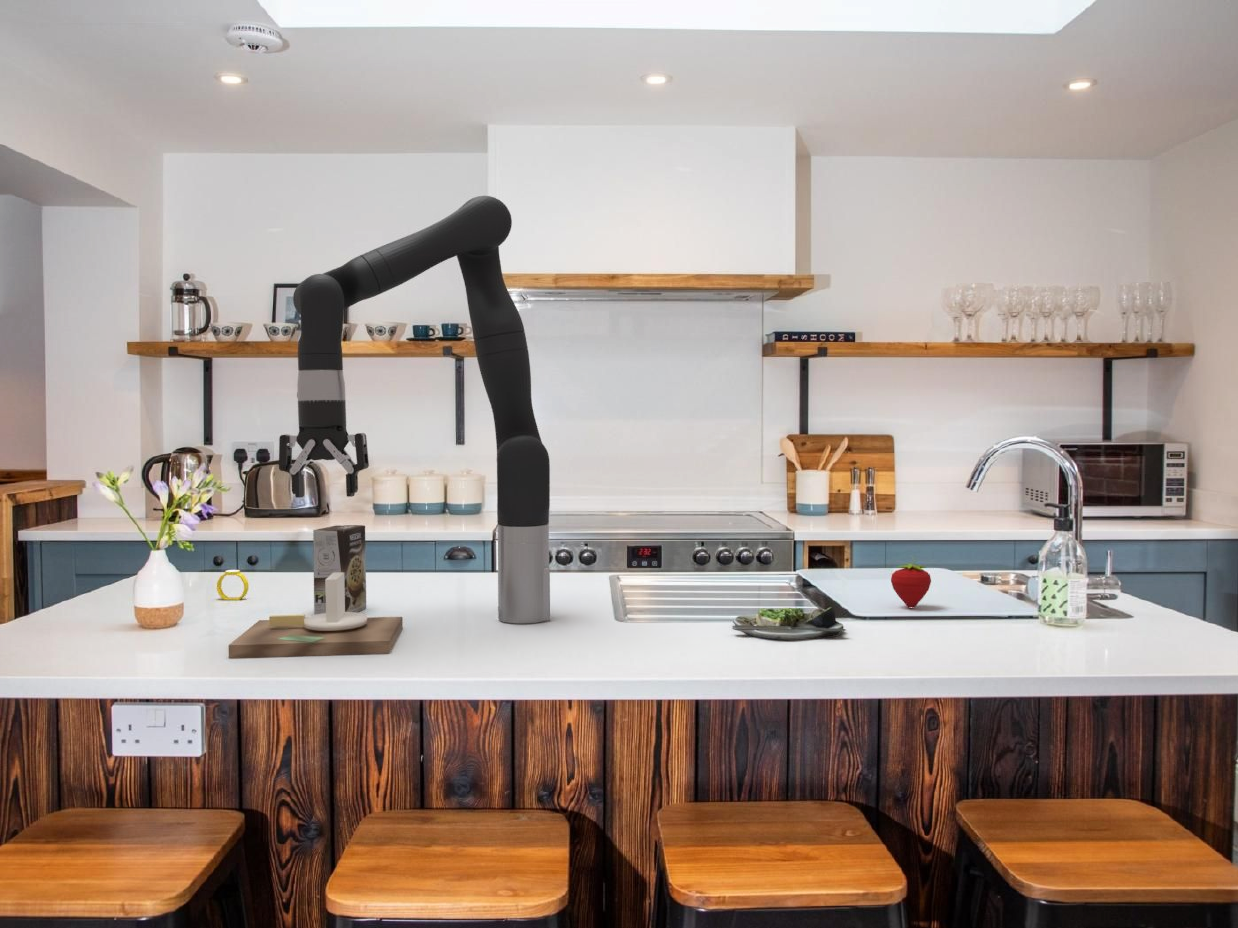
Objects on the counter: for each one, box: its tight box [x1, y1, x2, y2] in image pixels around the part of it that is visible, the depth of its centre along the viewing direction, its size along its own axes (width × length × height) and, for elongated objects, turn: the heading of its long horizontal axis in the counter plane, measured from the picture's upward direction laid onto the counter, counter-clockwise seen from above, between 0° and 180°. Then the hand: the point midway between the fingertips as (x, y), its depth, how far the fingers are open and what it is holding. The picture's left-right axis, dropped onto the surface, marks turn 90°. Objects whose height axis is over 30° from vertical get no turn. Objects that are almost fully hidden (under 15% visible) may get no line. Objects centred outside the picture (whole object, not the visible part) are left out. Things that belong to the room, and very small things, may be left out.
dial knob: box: [268, 572, 368, 631], centre depth 160 cm, size 16×10×8 cm, turn 96°
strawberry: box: [890, 554, 932, 608], centre depth 184 cm, size 6×8×10 cm
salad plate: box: [732, 606, 847, 641], centre depth 166 cm, size 19×18×5 cm
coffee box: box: [312, 524, 367, 615], centre depth 182 cm, size 9×6×16 cm
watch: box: [216, 569, 249, 601], centre depth 196 cm, size 6×3×6 cm, turn 87°
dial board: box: [228, 616, 404, 659], centre depth 159 cm, size 24×18×2 cm
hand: (325, 496), depth 161 cm, fingers open, 8 cm apart
